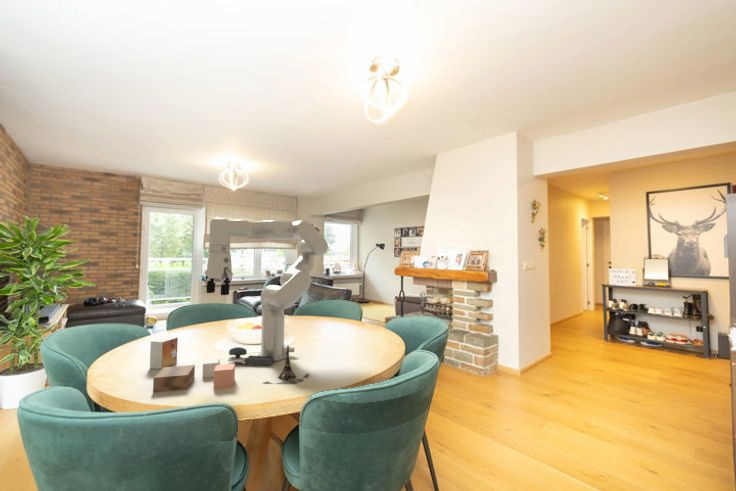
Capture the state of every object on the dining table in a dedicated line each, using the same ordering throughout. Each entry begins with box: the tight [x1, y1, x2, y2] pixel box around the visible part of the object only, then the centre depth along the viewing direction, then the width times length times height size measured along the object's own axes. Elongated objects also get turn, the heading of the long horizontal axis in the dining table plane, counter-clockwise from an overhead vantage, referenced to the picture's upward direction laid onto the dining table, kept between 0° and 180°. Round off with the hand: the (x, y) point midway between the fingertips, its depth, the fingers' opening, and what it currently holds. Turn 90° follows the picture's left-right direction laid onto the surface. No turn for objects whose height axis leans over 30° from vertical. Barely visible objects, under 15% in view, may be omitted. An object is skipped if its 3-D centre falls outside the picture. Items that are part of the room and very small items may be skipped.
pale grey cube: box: [202, 358, 221, 378], centre depth 121 cm, size 5×5×5 cm
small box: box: [149, 336, 179, 370], centre depth 129 cm, size 8×6×10 cm
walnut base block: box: [152, 364, 196, 393], centre depth 111 cm, size 10×10×5 cm
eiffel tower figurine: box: [262, 345, 310, 385], centre depth 118 cm, size 15×10×13 cm
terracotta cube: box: [213, 363, 236, 390], centre depth 112 cm, size 6×6×6 cm
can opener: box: [227, 347, 275, 367], centre depth 133 cm, size 19×5×6 cm, turn 86°
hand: (217, 293), depth 125 cm, fingers open, 9 cm apart
